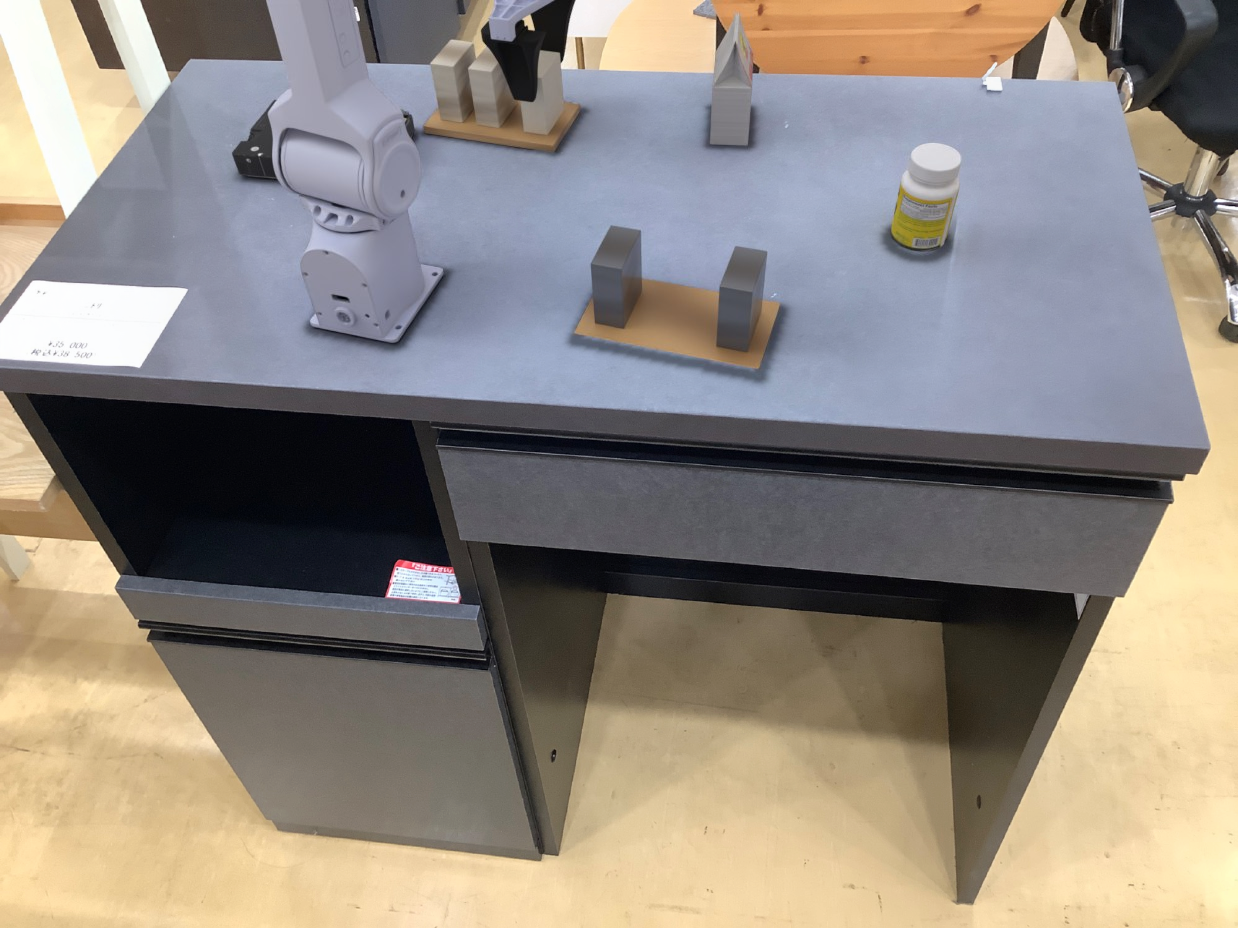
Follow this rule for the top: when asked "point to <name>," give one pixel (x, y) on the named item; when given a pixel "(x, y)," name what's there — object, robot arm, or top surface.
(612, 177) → the top surface
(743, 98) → the gable top juice carton
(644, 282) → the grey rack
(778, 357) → the top surface
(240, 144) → the disk drive
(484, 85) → the cream rack
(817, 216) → the top surface
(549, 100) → the beige block
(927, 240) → the supplement bottle
